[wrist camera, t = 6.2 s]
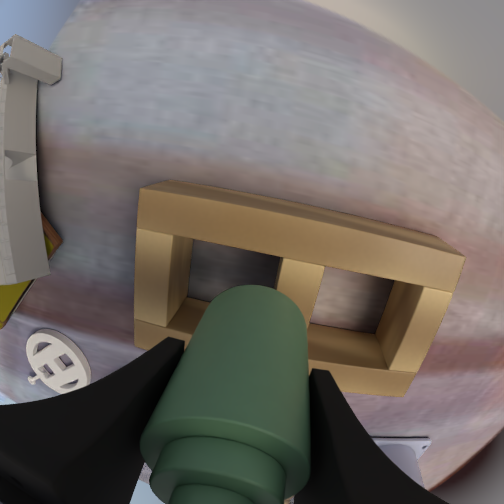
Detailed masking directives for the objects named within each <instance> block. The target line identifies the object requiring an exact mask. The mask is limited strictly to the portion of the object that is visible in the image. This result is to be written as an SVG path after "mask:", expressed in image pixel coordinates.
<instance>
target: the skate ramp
mask: <svg viewBox="0 0 504 504" xmlns="http://www.w3.org/2000/svg"><path fill="white" fill-rule="evenodd" d="M7 45H9V46H12V49H11V54H10V57H9V54H8V53H6V52H5V53H3V49H4V48H5V47H6V46H7ZM4 55H5V56H4ZM61 62H62V58H61V57H59V56H57V55H55V54H54V53H52V52H50V51H48V50H46V49H44V48H42V47H40V46H38V45H36V44H34V43H32V42H30V41H28V40H26V39H24V38H22V37H20V36H18V35H16V34H15V35H14V36H12V37H11V38H10V39H9V40H8V41H6V42H5V43H4V44H3V45H1V46H0V73H1V74H2V76H3V78H2V79H1V83H0V251H1V252H0V285H12V284H17V283H21V282H25V281H28V280H32V279H36V278H40V277H44V276H48V275H51V274H50V269H49V264H48V258H47V253H46V247H45V241H44V235H43V228H42V220H41V212H40V203H39V193H38V180H37V164H36V97H37V82H38V80H40V81H42V82H44V83H47V84H49V85H52V84H53V83H55V82H56V81H58V80H60V79H61ZM1 257H2V259H1ZM2 263H3V264H2ZM3 269H4V270H3ZM4 274H5V275H4ZM5 279H6V280H5Z"/></svg>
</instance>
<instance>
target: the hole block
mask: <svg viewBox="0 0 504 504" xmlns="http://www.w3.org/2000/svg"><path fill="white" fill-rule="evenodd" d="M137 227H138V228H137V231H136V249H135V276H134V343H135V347H138V348H142V349H145V350H150V349H151V348H152V347H154V346H155V345H157V344H158V343H159V342H161V341H162V340H164V339H165V338H167V337H168V336H169V337H173V338H176V339H180V340H184V341H185V347H184V351H185V349H186V347H187V345H188V343H189V341H190V339H191V337H192V336H193V334H194V332H195V330H196V328H197V326H198V324H199V322H200V320H201V318H202V316H203V315H204V313H205V311H206V309H207V307H208V305H209V304H210V302H205V301H201V300H197V299H192V298H188V297H187V293H188V283H189V274H190V264H191V255H192V247H193V239H196V240H201V241H206V242H211V243H216V244H221V245H226V246H230V247H235V248H240V249H245V250H250V251H255V252H260V253H265V254H270V255H274V256H279V257H280V262H279V267H278V271H277V276H276V280H275V285H274V289H275V290H277V291H279V292H281V293H283V294H285V295H286V296H287V297H289V298H290V299H291V300H292V301H293V302H294V303H295V304H296V305H297V306H298V308H299V309H300V311H301V312H302V314H303V316H304V319H305V322H306V327H307V343H308V364H309V375H310V372H311V370H312V368H316V369H322V370H329V371H330V373H331V374H332V376H333V378H334V380H335V382H336V383H337V385H338V387H339V389H340V391H342V392H350V393H359V394H369V395H380V396H393V397H404V395H405V393H406V391H407V390H408V388H409V386H410V384H411V383H412V381H413V379H414V377H415V375H416V372H417V371H418V369H419V368H420V366H421V364H422V362H423V360H424V358H425V356H426V354H427V352H428V350H429V348H430V346H431V344H432V341H433V339H434V337H435V335H436V333H437V331H438V328H439V326H440V324H441V322H442V319H443V317H444V315H445V312H446V310H447V308H448V305H449V303H450V300H451V298H452V295H453V292H454V291H455V288H456V285H457V283H458V280H459V277H460V274H461V272H462V269H463V266H464V263H465V260H466V257H465V256H464V255H463V254H461V253H460V252H458V251H457V250H456V249H454V248H453V247H451V246H450V245H448V244H447V243H446V242H444V241H443V240H441V239H440V238H438V237H437V236H433V235H430V234H426V233H422V232H419V231H415V230H411V229H407V228H403V227H400V226H396V225H392V224H388V223H384V222H380V221H376V220H371V219H367V218H363V217H359V216H355V215H350V214H346V213H342V212H337V211H333V210H328V209H324V208H319V207H315V206H310V205H305V204H301V203H296V202H291V201H286V200H281V199H276V198H271V197H266V196H261V195H256V194H250V193H245V192H240V191H234V190H229V189H223V188H217V187H211V186H206V185H200V184H194V183H187V182H181V181H175V180H167V181H163V182H160V183H156V184H153V185H149V186H146V187H142V188H140V192H139V202H138V215H137ZM325 266H328V267H333V268H338V269H343V270H348V271H352V272H357V273H362V274H367V275H372V276H377V277H382V278H387V279H391V280H395V281H394V284H393V287H392V290H391V293H390V296H389V299H388V301H387V304H386V307H385V309H384V312H383V315H382V317H381V320H380V323H379V325H378V328H377V330H376V333H375V334H370V333H363V332H357V331H351V330H345V329H339V328H333V327H328V326H322V325H316V324H311V323H309V322H310V319H311V315H312V312H313V308H314V305H315V302H316V298H317V294H318V291H319V287H320V284H321V280H322V276H323V273H324V269H325Z"/></svg>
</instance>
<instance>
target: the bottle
mask: <svg viewBox="0 0 504 504" xmlns="http://www.w3.org/2000/svg"><path fill="white" fill-rule="evenodd" d="M140 451H141V455H142V457H143V459H144V461H145V462H146V464H147V465H148V466H149V468H150V469H151V470H152V473H151V476H150V478H149V483H150V487H151V489H152V491H153V492H154V494H155V495H156V496H157V497H158V498H159V499H160V500H161V501H162V502H164V503H165V504H284V500H285V499H288V498H290V497H292V496H294V495H295V494H297V493H298V492H299V491H301V490H302V489H303V488H304V486H305V485H306V484H307V482H308V480H309V478H310V474H311V432H310V390H309V364H308V343H307V327H306V322H305V319H304V316H303V314H302V312H301V311H300V309H299V308H298V306H297V305H296V304H295V303H294V302H293V301H292V300H291V299H290V298H289V297H287V296H286V295H285V294H283V293H281V292H279V291H277V290H275V289H272V288H269V287H265V286H260V285H242V286H237V287H233V288H230V289H228V290H226V291H224V292H222V293H221V294H219V295H218V296H217V297H215V298H214V299H213V300H212V302H211V303H210V304H209V305H208V307H207V309H206V311H205V313H204V315H203V316H202V318H201V320H200V322H199V324H198V326H197V328H196V330H195V332H194V334H193V336H192V337H191V339H190V341H189V343H188V345H187V347H186V349H185V351H184V353H183V355H182V357H181V359H180V361H179V362H178V364H177V366H176V368H175V370H174V372H173V374H172V376H171V378H170V380H169V382H168V384H167V386H166V388H165V390H164V392H163V394H162V395H161V397H160V399H159V401H158V403H157V405H156V407H155V409H154V411H153V413H152V415H151V417H150V419H149V421H148V423H147V425H146V427H145V429H144V431H143V433H142V435H141V438H140Z"/></svg>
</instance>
